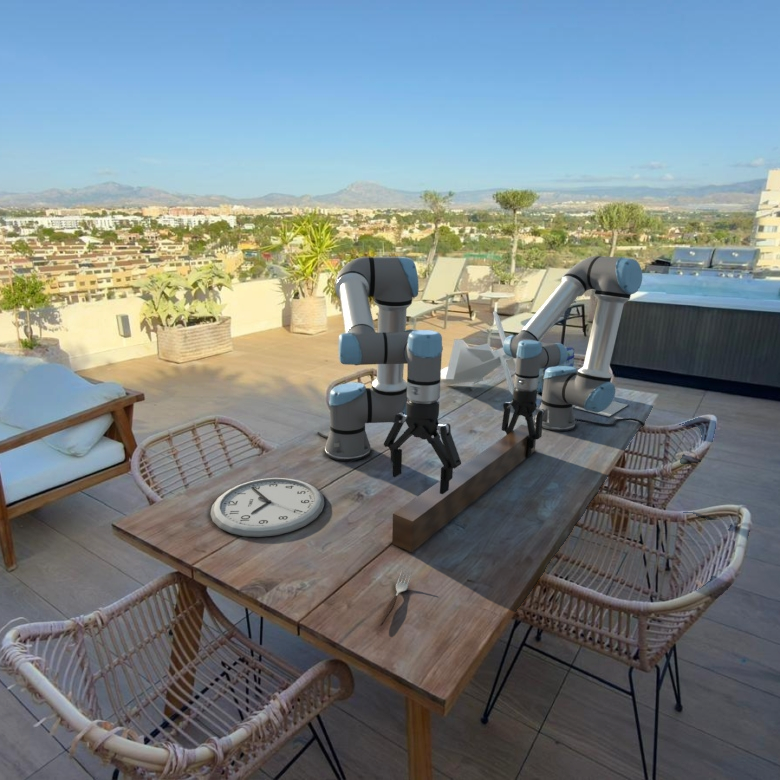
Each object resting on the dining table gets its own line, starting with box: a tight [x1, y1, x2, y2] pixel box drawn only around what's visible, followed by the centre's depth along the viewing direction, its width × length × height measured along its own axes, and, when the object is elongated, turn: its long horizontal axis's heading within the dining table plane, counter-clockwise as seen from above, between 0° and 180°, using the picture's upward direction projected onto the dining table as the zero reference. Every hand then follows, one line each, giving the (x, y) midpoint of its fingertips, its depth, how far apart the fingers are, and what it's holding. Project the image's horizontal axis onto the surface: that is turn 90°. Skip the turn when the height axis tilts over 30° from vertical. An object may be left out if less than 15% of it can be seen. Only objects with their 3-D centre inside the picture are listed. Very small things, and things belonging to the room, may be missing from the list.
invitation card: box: [573, 400, 629, 418], centre depth 226 cm, size 21×1×15 cm
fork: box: [379, 570, 413, 627], centre depth 106 cm, size 3×16×2 cm, turn 160°
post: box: [391, 424, 537, 553], centre depth 152 cm, size 75×6×8 cm, turn 143°
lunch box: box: [536, 346, 575, 394], centre depth 245 cm, size 26×11×21 cm, turn 134°
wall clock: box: [210, 477, 325, 538], centre depth 142 cm, size 30×2×30 cm
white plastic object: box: [440, 310, 516, 396], centre depth 245 cm, size 37×45×31 cm
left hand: (419, 483), depth 125 cm, fingers open, 13 cm apart
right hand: (519, 453), depth 176 cm, fingers closed on post, 6 cm apart
